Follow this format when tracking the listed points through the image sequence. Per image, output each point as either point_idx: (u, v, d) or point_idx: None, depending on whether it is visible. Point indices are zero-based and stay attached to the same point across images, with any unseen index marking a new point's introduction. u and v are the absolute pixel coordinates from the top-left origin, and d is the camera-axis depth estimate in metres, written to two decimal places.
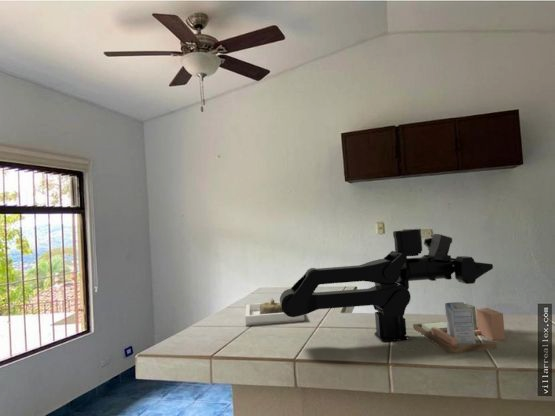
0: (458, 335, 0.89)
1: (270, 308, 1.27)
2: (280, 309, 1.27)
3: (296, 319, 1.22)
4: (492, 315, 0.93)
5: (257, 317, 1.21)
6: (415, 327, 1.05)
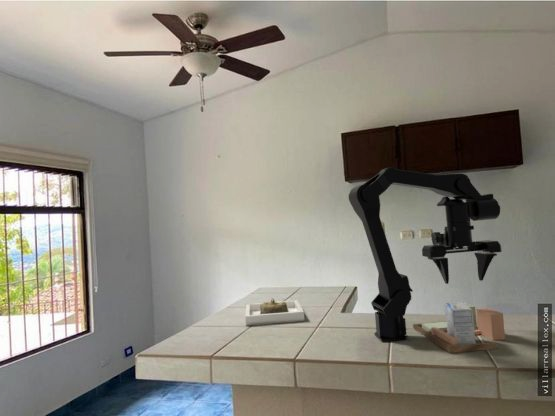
0: (458, 335, 0.89)
1: (270, 308, 1.27)
2: (280, 309, 1.27)
3: (296, 319, 1.22)
4: (492, 315, 0.93)
5: (257, 317, 1.21)
6: (415, 327, 1.05)
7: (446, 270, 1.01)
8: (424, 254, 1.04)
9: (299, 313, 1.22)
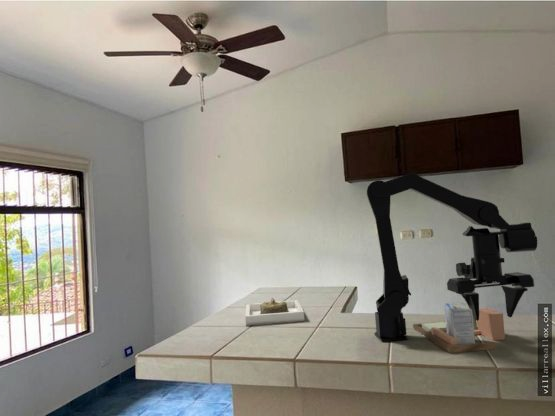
0: (458, 335, 0.89)
1: (270, 308, 1.27)
2: (280, 309, 1.27)
3: (296, 319, 1.22)
4: (492, 315, 0.93)
5: (257, 317, 1.21)
6: (415, 327, 1.05)
7: (476, 306, 0.93)
8: (450, 288, 0.96)
9: (299, 313, 1.22)
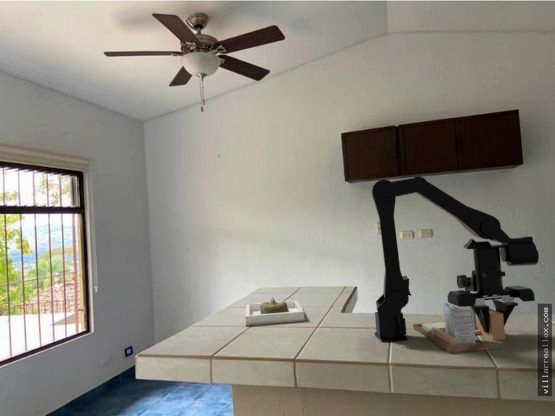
0: (459, 335, 0.89)
1: (271, 307, 1.27)
2: (281, 308, 1.28)
3: (296, 319, 1.22)
4: (492, 315, 0.93)
5: (257, 317, 1.21)
6: (415, 327, 1.05)
7: (487, 319, 0.93)
8: (450, 301, 0.96)
9: (299, 313, 1.22)
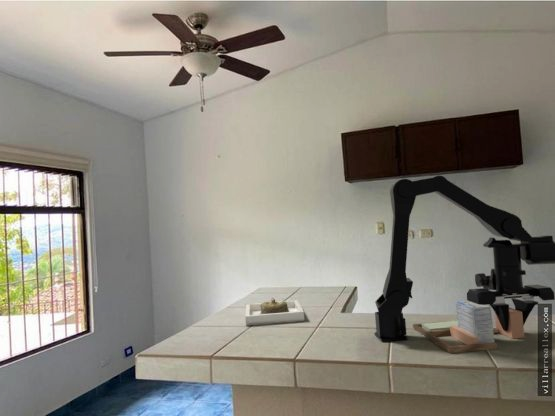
0: (479, 333, 0.89)
1: (271, 307, 1.28)
2: (281, 308, 1.28)
3: (296, 319, 1.22)
4: (511, 313, 0.94)
5: (257, 317, 1.21)
6: (415, 327, 1.05)
7: (506, 317, 0.94)
8: (469, 299, 0.96)
9: (299, 313, 1.22)
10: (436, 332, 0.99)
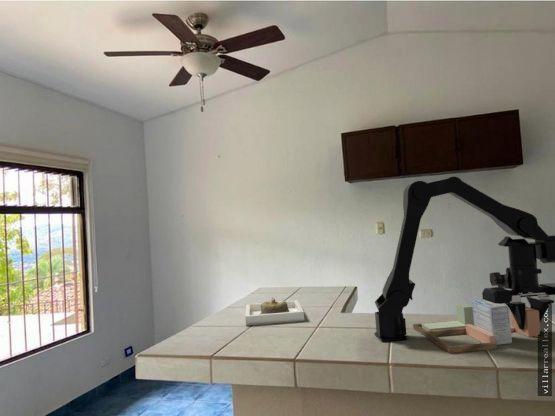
0: (496, 332, 0.90)
1: (271, 307, 1.28)
2: (281, 308, 1.28)
3: (296, 319, 1.22)
4: (528, 312, 0.94)
5: (257, 317, 1.21)
6: (415, 327, 1.05)
7: (522, 316, 0.94)
8: (485, 298, 0.97)
9: (299, 313, 1.22)
10: (436, 332, 0.99)
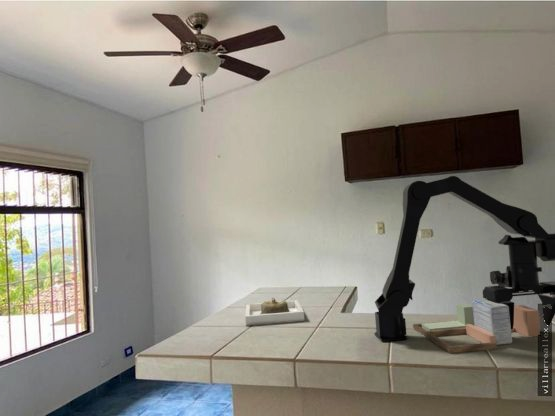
0: (497, 332, 0.90)
1: (271, 307, 1.28)
2: (281, 308, 1.28)
3: (296, 319, 1.22)
4: (528, 312, 0.94)
5: (257, 317, 1.21)
6: (415, 327, 1.05)
7: (511, 315, 0.94)
8: (486, 296, 0.97)
9: (299, 313, 1.22)
10: (436, 332, 0.99)
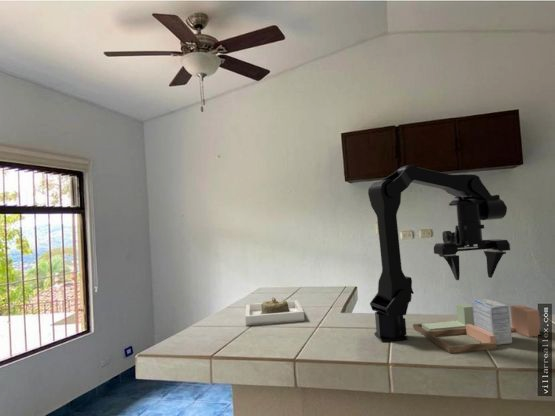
0: (497, 332, 0.90)
1: (271, 307, 1.28)
2: (281, 308, 1.29)
3: (296, 319, 1.22)
4: (528, 312, 0.94)
5: (257, 317, 1.21)
6: (415, 327, 1.05)
7: (457, 267, 1.06)
8: (436, 252, 1.09)
9: (299, 313, 1.22)
10: (436, 332, 0.99)
